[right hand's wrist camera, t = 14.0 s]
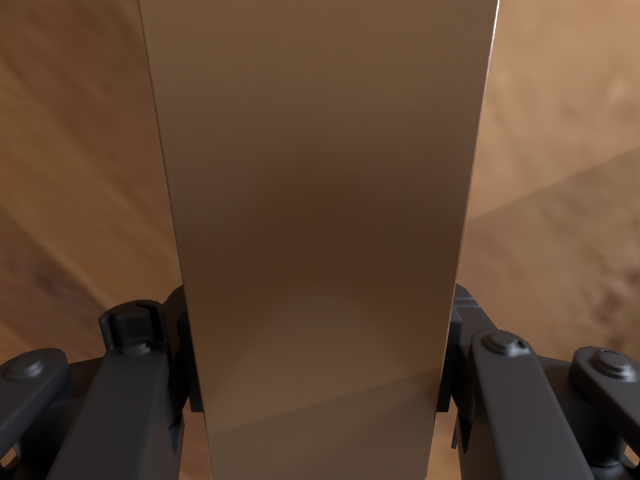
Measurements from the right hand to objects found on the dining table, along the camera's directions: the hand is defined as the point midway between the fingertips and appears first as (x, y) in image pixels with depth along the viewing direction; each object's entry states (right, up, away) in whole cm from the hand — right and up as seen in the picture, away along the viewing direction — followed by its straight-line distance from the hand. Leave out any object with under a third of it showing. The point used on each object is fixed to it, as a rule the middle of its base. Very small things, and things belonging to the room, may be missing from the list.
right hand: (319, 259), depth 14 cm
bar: (0, +21, -7) cm, 23 cm away
